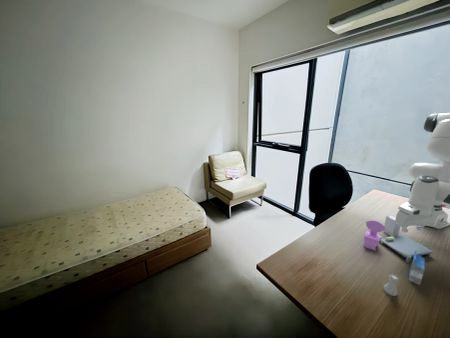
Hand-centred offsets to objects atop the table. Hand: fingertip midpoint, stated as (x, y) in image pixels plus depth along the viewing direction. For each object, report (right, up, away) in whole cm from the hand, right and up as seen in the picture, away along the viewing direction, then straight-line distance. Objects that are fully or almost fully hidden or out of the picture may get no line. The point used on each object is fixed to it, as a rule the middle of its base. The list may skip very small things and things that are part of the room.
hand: (411, 230), depth 98 cm
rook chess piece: (-29, -19, -20) cm, 40 cm away
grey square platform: (-1, -12, +3) cm, 12 cm away
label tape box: (-12, -17, -13) cm, 25 cm away
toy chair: (-17, -11, +7) cm, 21 cm away
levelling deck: (-1, -9, +2) cm, 10 cm away
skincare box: (+2, -8, +15) cm, 18 cm away
